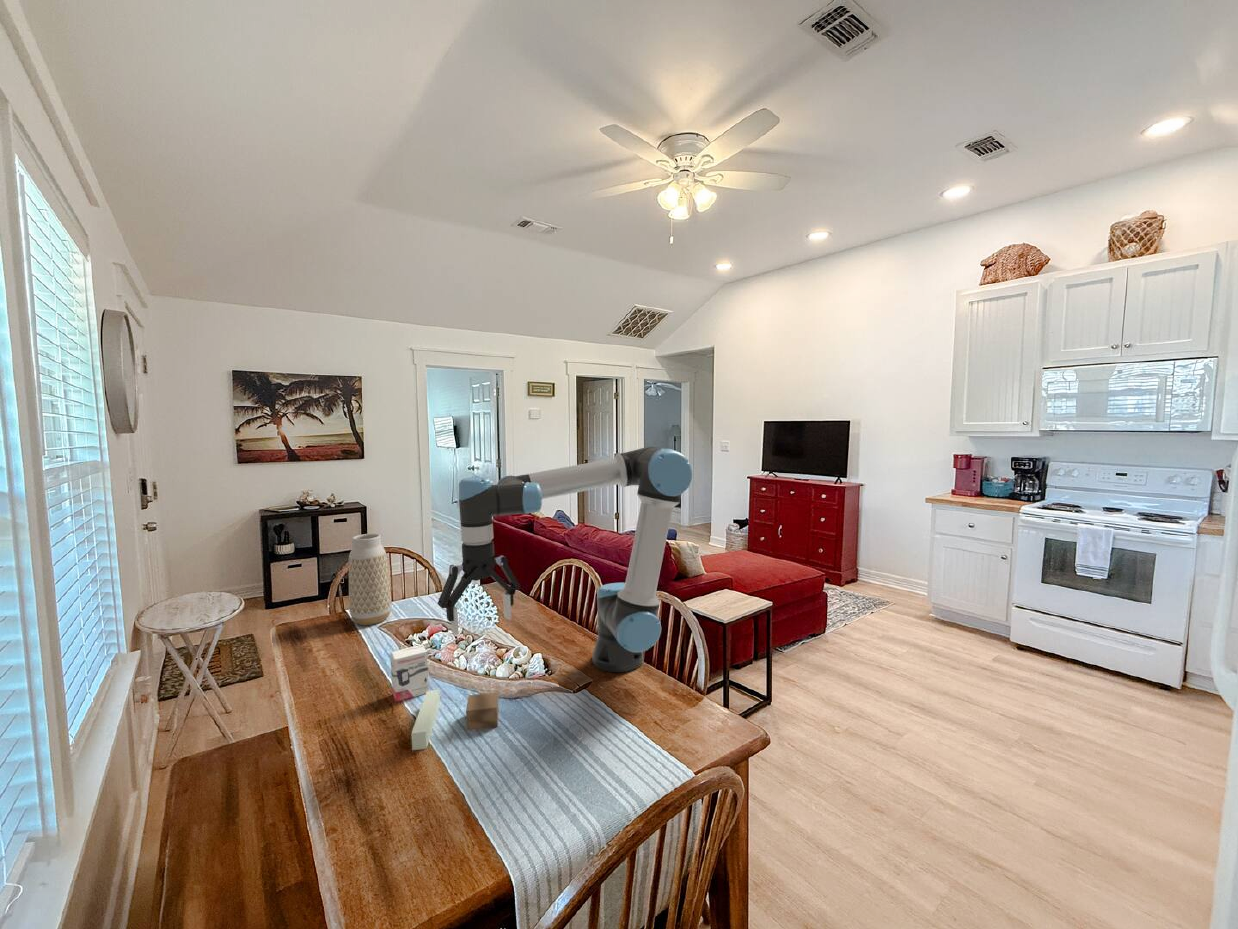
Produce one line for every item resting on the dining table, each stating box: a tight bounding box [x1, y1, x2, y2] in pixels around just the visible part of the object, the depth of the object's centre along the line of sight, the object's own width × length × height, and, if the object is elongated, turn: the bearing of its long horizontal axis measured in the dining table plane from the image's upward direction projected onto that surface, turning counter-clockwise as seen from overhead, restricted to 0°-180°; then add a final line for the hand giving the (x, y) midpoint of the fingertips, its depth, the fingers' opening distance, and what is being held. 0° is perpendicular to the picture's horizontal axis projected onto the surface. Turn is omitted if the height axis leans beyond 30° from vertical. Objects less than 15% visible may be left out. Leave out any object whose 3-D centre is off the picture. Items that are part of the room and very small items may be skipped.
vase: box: [348, 533, 392, 626], centre depth 190 cm, size 14×14×31 cm
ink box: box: [389, 644, 430, 703], centre depth 141 cm, size 8×5×12 cm, turn 123°
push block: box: [465, 691, 500, 731], centre depth 129 cm, size 7×7×5 cm
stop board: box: [411, 689, 441, 751], centre depth 127 cm, size 3×18×4 cm, turn 9°
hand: (482, 625), depth 131 cm, fingers open, 13 cm apart
